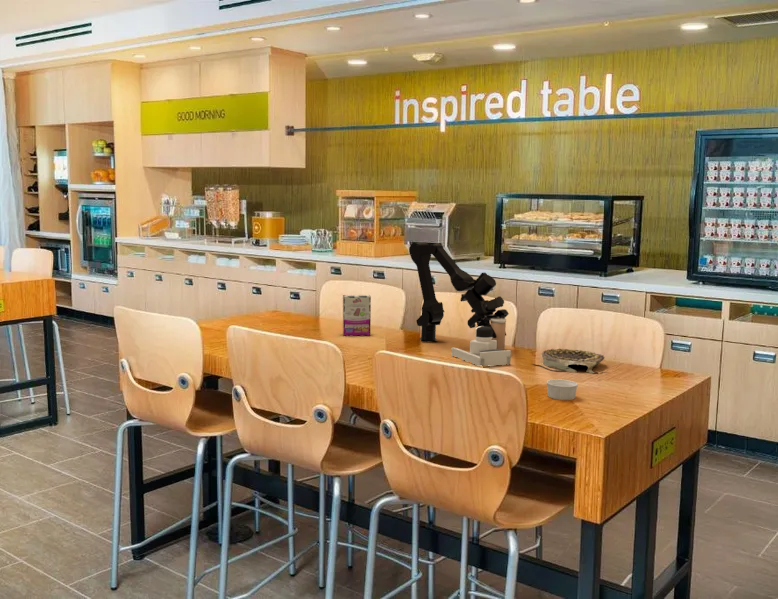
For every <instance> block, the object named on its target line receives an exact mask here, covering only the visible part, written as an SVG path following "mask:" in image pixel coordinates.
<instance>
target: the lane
mask: <svg viewBox="0 0 778 599" xmlns="http://www.w3.org/2000/svg"><path fill="white" fill-rule="evenodd" d="M501 350H502V349H492V350H480V356H477V355H474V354H472V353H470V351H466V350H464V349H461V348H457V347H451V350H450V351H451V353H450V354H451V355H453V356H455V357H458V358H461V359H463V360H465V361H464V362H466V361H467V362H466V363H468V362H471V363H473V364H476V365H482V366H483V367H482V368H485V367H484V366H488V365H502V366H510V365H511V357H512V356H511V355H512V350H510V349H507V350H504V351H501ZM451 355H450V356H451ZM453 356H452V357H453ZM455 357H454V358H455ZM458 358H457V359H458ZM463 360H462V361H463ZM471 363H470V364H471ZM473 364H472V365H473ZM506 364H507V365H506ZM509 364H510V365H509ZM476 365H475V366H476Z"/></svg>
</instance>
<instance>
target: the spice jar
mask: <svg viewBox="0 0 778 599" xmlns="http://www.w3.org/2000/svg"><path fill="white" fill-rule="evenodd" d="M490 325H491V326H492V328H493V330H494V332H495V333H496V336H497V337H496V338H493V337H492V339H491V340H496V341H497V349H502V350H501V351H504V350H505V348H506V347H505V346H506V336H505V331H506V328H507V327H506V325H507V319H506V317H505V318H490Z"/></svg>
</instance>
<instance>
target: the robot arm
mask: <svg viewBox="0 0 778 599" xmlns="http://www.w3.org/2000/svg"><path fill="white" fill-rule="evenodd" d="M408 252H409V255H410V258H411V260H412V261H413V263H414V264H415V266H416V269H417V274H418V280H419V283H420V288H421V294H422V295H421V296H422V299H423V303H422V306H421V315H420V316H418V318H417V319H416V321H415V322H416V325H417V326H418V327H420V328H421V330H420V331H421V332H420V337H419V341H420V340H421V341H437V342H438V340H437V338H436V333H437V330H436V329H437V326H440V325H441V322H442V320H443V318H444V315H445V314H444V313H445V310H444V304H443V302H442V301H440V302H439V301H438V299H437V297H436V291H435V288H434V287H435V285H434V282H433V277H432V272H431V267H430V261H431V257H432V255H433V257H434V258H435V260H436V261H437V262H438V264H440V266H441V267H442V268H443V270H444V271H445V272H446V273H447V274H448V276H449V277H450V283H451V285H452V286H453V288H454V290H455V291H457V292H465V291H466V292H465V293H461V297H460V300H459V301H460V302H467V304H468V305H469V306H470V308H471V310H470V312H471V313H472V315H471V317H469V319H468V320H467V325H468V326H467V327H469V329H474V328H476V327H479V326H487V327H491V328H492V326H491V325H490V324H491V321H490V318H505V319H506V317H507V316H508V315H509V314H510V313H509V312H508V310H507V309H504V308H502V307H504V304H505V299H504V298H502V297H501V296H497V297H494V298H493V299H490V300H488V299H486V300H485V298H484V297H483V296H487V295H488V294H489V293H490V292H491V291H492V290H493V289H494V287H496V286H497V281H496V280H495V279H494V278H493V277H492V276H491V275H490V274H487V273H486V272H481V273H480V274H479V276H478V277H477V278H476V279H474V277H473V276H472V275H470V274H469V273H468V272H467V271H464V270H463V269H461V268H460V267H459V265H458V264H457V263H456V261H454V259H453V258H452V257H451V256H450V255H449V254H448V252H447V251H446V249H445V248H444V246H443V245H442V244H441V243H438V244H437V243H436V244H435V243H433V244H429V243H428V242H412V243H411V244H410V246H409V247H408ZM499 308H501V309H499ZM497 309H498V310H497ZM492 329H493V328H492ZM506 336H507V332H506V330H505V337H506ZM492 337H493V338H496V337H497V336H496V333H495V332H494V330H493V334H492ZM421 341H420V342H421Z"/></svg>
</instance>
